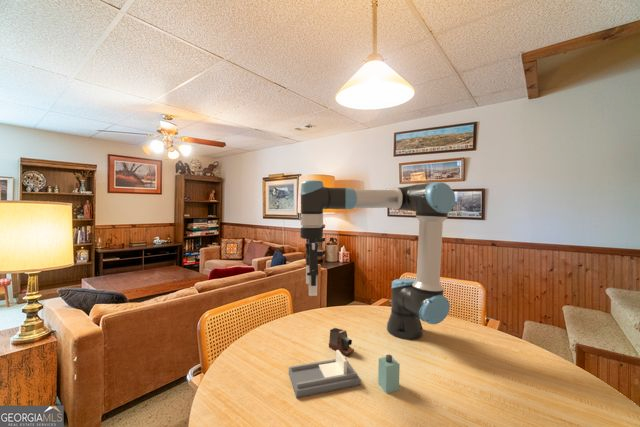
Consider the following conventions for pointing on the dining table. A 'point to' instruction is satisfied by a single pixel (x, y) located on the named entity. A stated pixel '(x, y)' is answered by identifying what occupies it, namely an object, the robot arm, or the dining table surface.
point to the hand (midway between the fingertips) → (311, 289)
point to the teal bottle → (388, 374)
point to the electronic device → (340, 341)
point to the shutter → (334, 366)
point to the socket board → (320, 379)
